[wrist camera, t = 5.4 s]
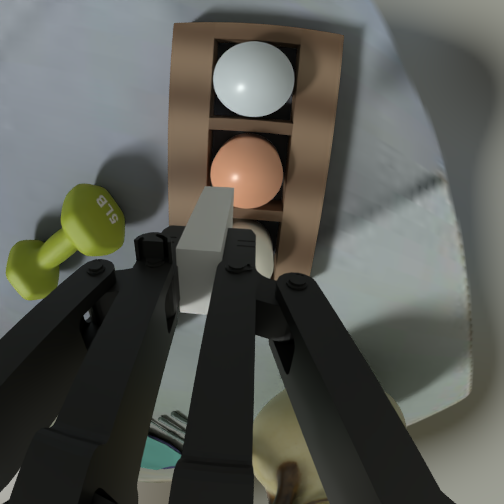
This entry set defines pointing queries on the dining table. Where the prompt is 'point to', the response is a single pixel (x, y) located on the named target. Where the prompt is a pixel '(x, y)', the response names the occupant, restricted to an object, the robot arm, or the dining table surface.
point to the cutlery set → (162, 447)
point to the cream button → (259, 245)
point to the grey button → (253, 79)
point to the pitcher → (287, 455)
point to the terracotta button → (248, 169)
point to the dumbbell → (67, 241)
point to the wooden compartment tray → (256, 129)
